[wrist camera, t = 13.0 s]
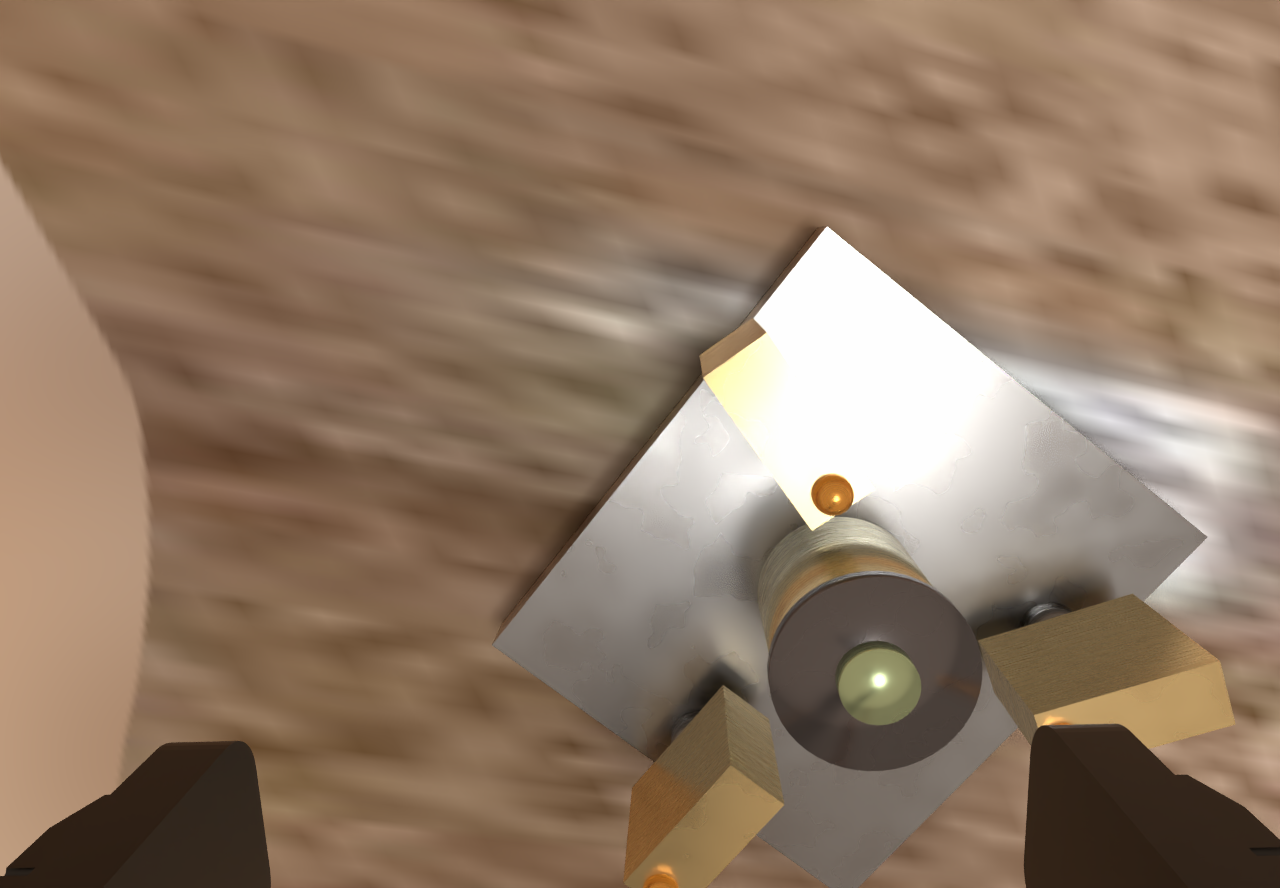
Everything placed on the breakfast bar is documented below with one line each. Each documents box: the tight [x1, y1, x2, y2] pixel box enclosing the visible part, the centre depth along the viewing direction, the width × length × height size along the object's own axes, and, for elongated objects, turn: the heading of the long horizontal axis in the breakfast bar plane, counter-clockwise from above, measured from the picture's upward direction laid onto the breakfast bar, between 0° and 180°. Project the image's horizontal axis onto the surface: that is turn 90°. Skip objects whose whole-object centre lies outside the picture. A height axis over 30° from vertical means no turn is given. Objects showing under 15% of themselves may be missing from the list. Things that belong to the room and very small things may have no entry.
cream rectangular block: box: [699, 318, 876, 531], centre depth 28 cm, size 2×6×7 cm, turn 36°
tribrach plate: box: [492, 227, 1207, 888], centre depth 30 cm, size 20×18×9 cm
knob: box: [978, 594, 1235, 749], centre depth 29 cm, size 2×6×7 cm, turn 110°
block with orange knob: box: [623, 685, 784, 888], centre depth 31 cm, size 2×6×7 cm, turn 143°
